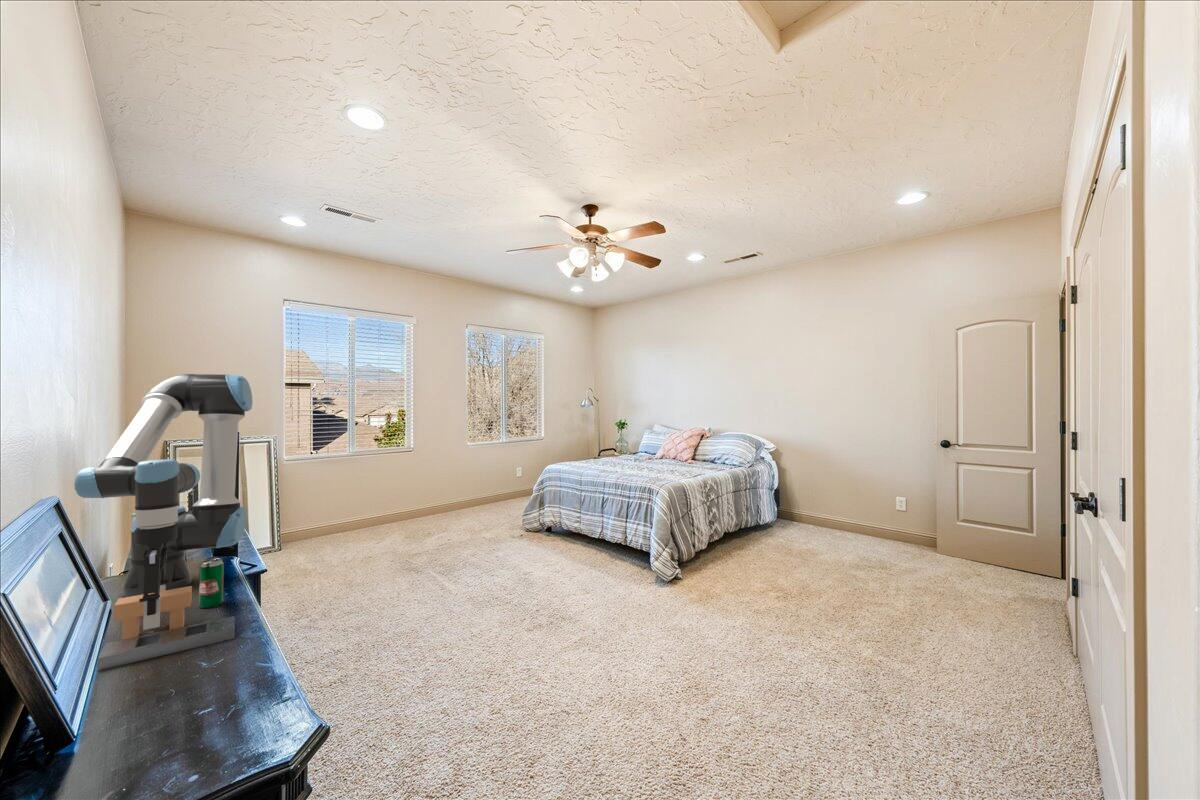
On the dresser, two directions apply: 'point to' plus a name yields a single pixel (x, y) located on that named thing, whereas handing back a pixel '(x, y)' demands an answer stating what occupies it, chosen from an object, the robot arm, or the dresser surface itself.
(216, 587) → the soda can
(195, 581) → the dresser surface
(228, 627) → the rail
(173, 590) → the wooden arch block
